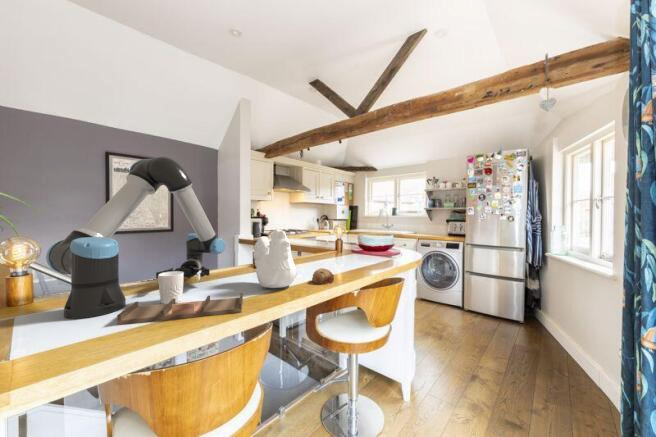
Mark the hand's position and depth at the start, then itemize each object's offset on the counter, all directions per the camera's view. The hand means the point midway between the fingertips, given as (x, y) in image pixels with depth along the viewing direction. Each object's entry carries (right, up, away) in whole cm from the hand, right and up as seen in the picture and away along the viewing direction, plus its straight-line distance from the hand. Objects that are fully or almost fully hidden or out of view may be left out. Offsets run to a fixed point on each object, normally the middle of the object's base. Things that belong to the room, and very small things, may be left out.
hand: (178, 278), depth 104 cm
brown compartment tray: (+14, -6, -20) cm, 25 cm away
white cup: (+3, -6, -9) cm, 12 cm away
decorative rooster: (+35, -6, +13) cm, 38 cm away
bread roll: (+57, -6, +18) cm, 60 cm away
